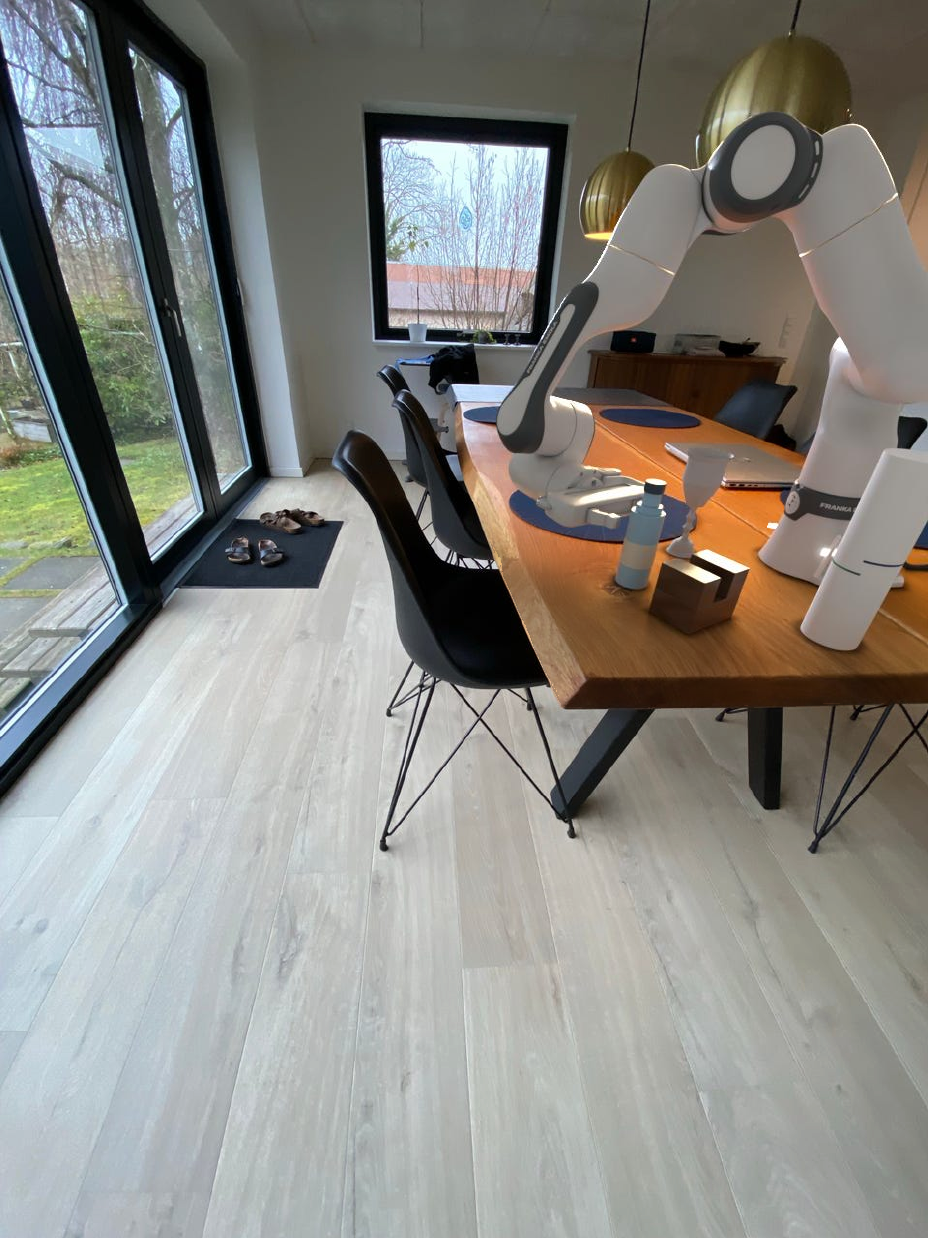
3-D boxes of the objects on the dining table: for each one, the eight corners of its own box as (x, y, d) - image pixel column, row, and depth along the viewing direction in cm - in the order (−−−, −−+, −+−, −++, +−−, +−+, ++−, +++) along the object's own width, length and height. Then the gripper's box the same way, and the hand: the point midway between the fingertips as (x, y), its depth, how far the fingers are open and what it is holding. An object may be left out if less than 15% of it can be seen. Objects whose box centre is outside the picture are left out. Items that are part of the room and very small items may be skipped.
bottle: (616, 598, 84) (584, 518, 86) (638, 591, 87) (606, 513, 89) (686, 567, 72) (646, 473, 74) (709, 560, 74) (670, 469, 76)
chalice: (700, 548, 97) (732, 450, 88) (702, 563, 92) (735, 460, 82) (660, 541, 99) (686, 445, 90) (659, 555, 94) (687, 454, 84)
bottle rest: (648, 611, 77) (662, 562, 72) (691, 596, 81) (706, 549, 77) (687, 634, 72) (705, 583, 67) (731, 617, 76) (750, 568, 72)
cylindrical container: (859, 656, 69) (965, 468, 56) (799, 638, 72) (885, 456, 59) (857, 632, 74) (954, 455, 61) (801, 616, 78) (882, 445, 64)
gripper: (532, 480, 83) (593, 508, 73) (622, 467, 93) (686, 490, 83) (527, 518, 86) (585, 550, 77) (614, 501, 96) (676, 527, 86)
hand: (639, 519), depth 80 cm, fingers open, 8 cm apart
